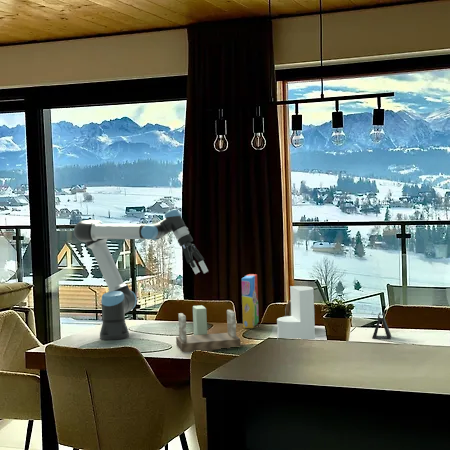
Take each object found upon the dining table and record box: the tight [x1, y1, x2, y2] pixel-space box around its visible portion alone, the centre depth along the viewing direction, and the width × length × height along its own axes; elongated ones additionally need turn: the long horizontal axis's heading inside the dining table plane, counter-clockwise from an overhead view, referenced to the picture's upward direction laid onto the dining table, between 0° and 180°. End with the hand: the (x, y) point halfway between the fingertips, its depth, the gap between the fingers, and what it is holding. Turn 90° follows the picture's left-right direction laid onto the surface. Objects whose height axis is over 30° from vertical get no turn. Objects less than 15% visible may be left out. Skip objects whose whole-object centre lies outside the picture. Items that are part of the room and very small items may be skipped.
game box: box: [241, 273, 260, 329], centre depth 413 cm, size 21×6×27 cm, turn 168°
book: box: [192, 304, 208, 335], centre depth 382 cm, size 5×11×16 cm, turn 12°
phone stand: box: [371, 312, 392, 340], centre depth 367 cm, size 9×6×12 cm, turn 75°
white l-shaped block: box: [276, 285, 316, 340], centre depth 349 cm, size 17×17×28 cm
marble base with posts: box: [175, 309, 241, 353], centre depth 362 cm, size 28×18×16 cm, turn 102°
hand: (202, 272), depth 390 cm, fingers open, 13 cm apart
